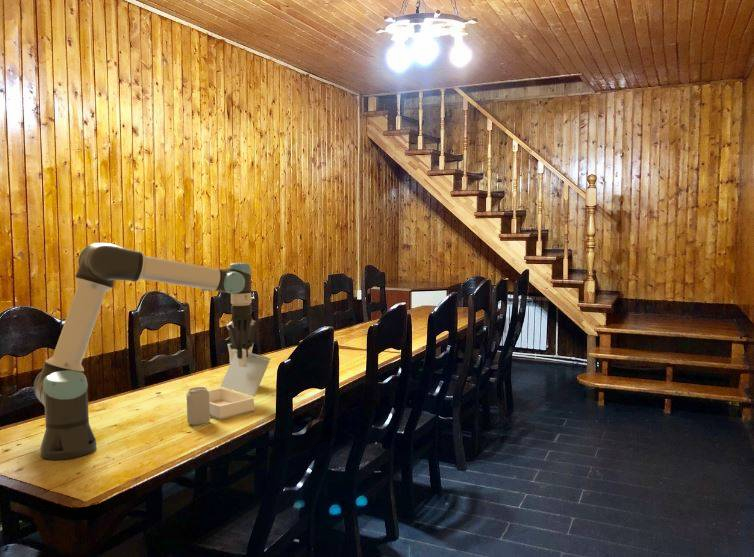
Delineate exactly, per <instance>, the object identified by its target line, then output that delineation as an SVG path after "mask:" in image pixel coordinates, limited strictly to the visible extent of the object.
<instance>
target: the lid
mask: <svg viewBox="0 0 754 557" xmlns="http://www.w3.org/2000/svg"><path fill="white" fill-rule="evenodd" d="M233 351H235V355H234V357H233V359H232V361H231V363H230V362H229V366H228V368H227V370H226V373H225V375H224V377H223V380H222V381H221V384H220V388H224V389H227V390H230V391H233V392H236V393H239V394H243V395H246V396H247V395H248V396H249V397H252V398H254V397H256V394H257V392H258V390H259V387H260V385H261V383H262V380H263V377H264V376H265V372H266V371H267V369H268V366H269V364H270V361H271V358H270V357H268V356H266V355H261V354H256V353H253V352H252V353H249V352H248V355H249V356H248V357H247V358H246V361H247V367H244V368H243V367H239V358H238V357H237V353H236V352H237V350H236V349H233Z"/></svg>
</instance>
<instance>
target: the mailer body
mask: <svg viewBox="0 0 754 557" xmlns="http://www.w3.org/2000/svg"><path fill="white" fill-rule="evenodd" d="M207 391H208V392H209V405H210V418H213V419H215V420H218V421H224V420H227V419H231V418H235V417H239V416H242V415H247V414H250V413H255V398H254V397H253V396H249V395H248V396H247V395H246V394H243V393H240V392H237V391H234V390H230V389H227V388H224V387H219V388H218V387H217V388H214V389H210V390H207Z"/></svg>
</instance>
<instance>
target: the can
mask: <svg viewBox="0 0 754 557" xmlns="http://www.w3.org/2000/svg"><path fill="white" fill-rule="evenodd" d="M187 390H188V392H187V393H186V412H187V413H186V418H187V423H188V424H189V425H190V426H194V427H195V426H196V427H197V426H198V427H199V426H203V425H207V424H209V422H210V420H211V417H210V405H209V392H208V391H209V390H208V388H207V387H205V386H195V387H191V388H189V389H187Z"/></svg>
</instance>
